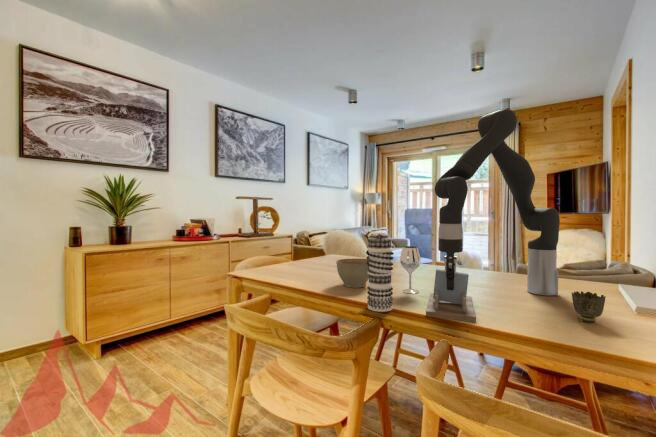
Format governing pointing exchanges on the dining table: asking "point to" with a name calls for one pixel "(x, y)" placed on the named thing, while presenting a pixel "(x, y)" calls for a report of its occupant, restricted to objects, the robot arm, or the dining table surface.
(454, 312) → the dish rack
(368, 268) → the decorative candle
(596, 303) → the cup
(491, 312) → the dining table surface
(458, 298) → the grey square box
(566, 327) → the dining table surface
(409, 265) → the wineglass
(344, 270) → the planter bowl
